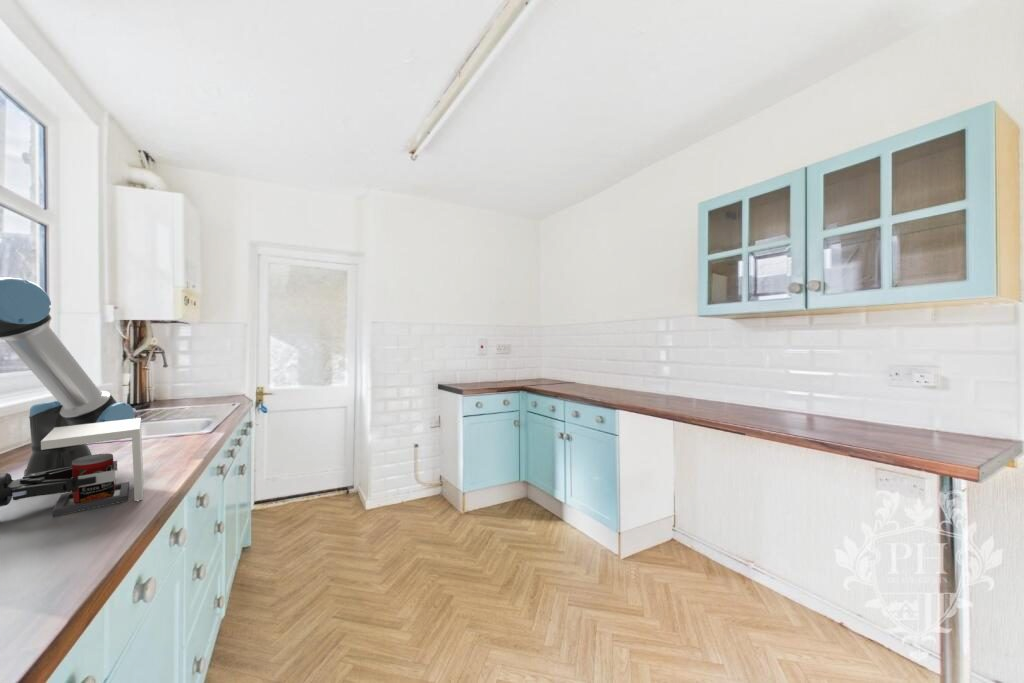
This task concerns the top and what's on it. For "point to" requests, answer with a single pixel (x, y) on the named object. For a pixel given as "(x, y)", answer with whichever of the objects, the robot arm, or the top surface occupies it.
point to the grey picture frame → (69, 506)
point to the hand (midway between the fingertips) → (116, 470)
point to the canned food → (92, 466)
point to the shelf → (100, 434)
